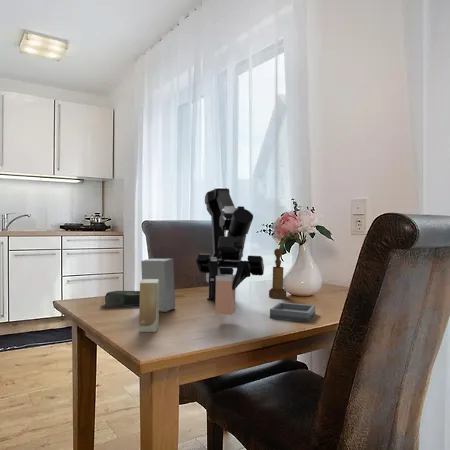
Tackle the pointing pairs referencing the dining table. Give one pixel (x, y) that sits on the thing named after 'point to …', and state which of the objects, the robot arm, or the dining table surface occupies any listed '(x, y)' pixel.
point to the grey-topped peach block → (225, 294)
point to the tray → (292, 312)
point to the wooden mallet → (277, 278)
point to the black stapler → (122, 298)
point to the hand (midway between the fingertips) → (224, 288)
